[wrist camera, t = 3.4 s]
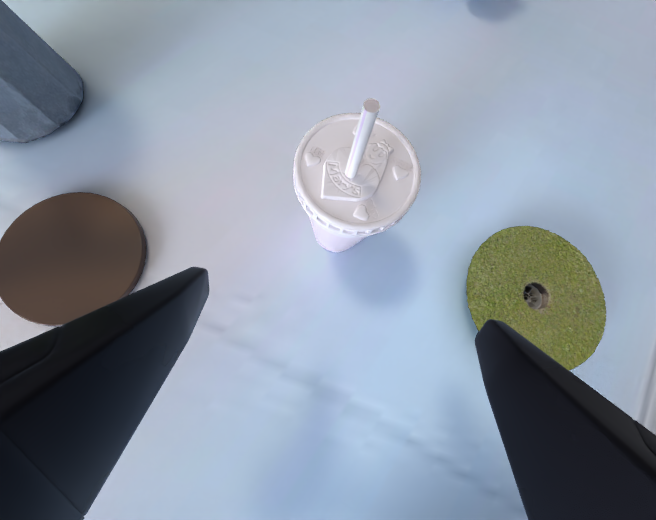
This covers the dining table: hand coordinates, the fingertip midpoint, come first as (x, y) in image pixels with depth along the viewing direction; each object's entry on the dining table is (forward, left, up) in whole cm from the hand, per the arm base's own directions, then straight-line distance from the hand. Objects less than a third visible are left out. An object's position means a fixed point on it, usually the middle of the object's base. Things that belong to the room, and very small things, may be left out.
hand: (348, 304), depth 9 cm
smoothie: (+4, -6, -13) cm, 15 cm away
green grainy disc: (-11, -12, -13) cm, 21 cm away
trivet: (+17, +9, -13) cm, 23 cm away
